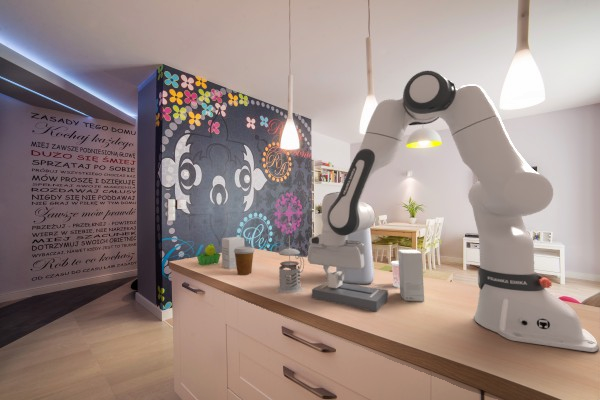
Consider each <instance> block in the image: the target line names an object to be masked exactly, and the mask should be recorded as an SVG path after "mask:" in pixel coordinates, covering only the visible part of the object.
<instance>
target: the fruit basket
mask: <svg viewBox="0 0 600 400" xmlns="http://www.w3.org/2000/svg"><path fill="white" fill-rule="evenodd" d="M204 251H205V253H202V254H196V257H197V258H196V259H197V262H198V264H199V265H200V266H208V265H214V263H216V264H219V262H220V257H221V256H222V253H219V252H216V248H215V244H214V243H209V244H208V245H207V246H206V247H205V249H204Z"/></svg>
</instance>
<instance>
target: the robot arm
mask: <svg viewBox="0 0 600 400" xmlns="http://www.w3.org/2000/svg"><path fill="white" fill-rule="evenodd" d="M402 93H403V94H402V98H400V99H394V98H392V99H389V98H388V99H386V100H385V99H384V100H382V101H380V102H379V103H378V104H377V105H376V107H375V109H374V110H373V113H372V114H371V116H370V120H369V121H368V125H367V128H366V130H365V132H364V133H365V134H364V137H363V139H362V142H361V144H360V146H359V150H358V151H357V153H356V155H355V156H354V158H353V160H352V162H351V164H350V166H349V168H348V171H347V173H346V176H345V178H344V181H343V183H342V186H341V189H340V191H335V192H329V193H327V194H325V195H324V196H323V199H322V203H321V220H322V221H321V222H322V228H321V234H318V235H316V236H312V237H309V239H308V243H309V246H308V249H307V261H308V263H309V264H310V265H311V264H312V265H319V266H323V270H324V272H325V274H326V275H325V276H326V279H327V280H328V274H329V273H331V270H330V268H332V267H333V268H336V267H340V268H341V271H342V273H341V274H340V275H338V280H340V281H343V280H344V275H345V273H346V271H347V268H348V269H355V270H360V269H362V268H363V267H364V255H363V253H364V246H363V244H362V243H360V242H359V241H352V240H348V238H347V235H349V234H351V233H353V232H358V231H362V230H366V229H368V228H370V229H371V227H372V226H373V225H374V223H375V221H376V213H375V210H374V208H373V206H372V205H370V204H369V203H367V202H364V201H361V199H362V197H363V194H364V192H365V189H366V187H367V184H368V181H369V179H370V178H371V176H372V175H374V174H375V173H376V172H377V171H378V170H380V169H382V168H384V167H387V166H388V165H390V164H391V163H392V162H393V161H394V159H395V158H396V156H397V155H398V152H399V149H400V146H401V145H402V141H403V139H404V135H405V133H406V132H405V131H406V130H407V127H408V126H416V125H417V126H419V125H427V124H432V123H434V122H436V121H437V120H438V119H439V118H440V119H442V120H443V121H444V122H445V123H446V125H447V127H448V128H449V131H450V133H451V136H452V139H453V141H454V143H455V146H456V148H457V151H458V153H459V155H460V158H461V160H462V162H463V164H465V166H467V167H468V168H469V169H470V170H471V172H472V173H473V174H474V176H475V177H476V179H477V180H476V182H475V183H474V184H473V185H472V186H471V187H470V189H469V190H468V194H467V195H468V197H467V198H468V200H469V203H470V205H471V207H472V212H473V216H474V221H475V224H476V228H477V229H476V230H477V234H478V235H477V236H478V242H479V243H478V244H479V245H478V246H479V266H478V269H477V285H478V288H479V293H478V294H479V295H478V300H477V301H478V302H477V305H476V306H477V307H476V311H475V314H474V316H473V319H474V321H475V322H476V323H478V324H479V325H480V326H482V327H484V328H485V329H487V330H490V331H493V332H495V333H497V334H498V335H500V336H502V337H503V338H505V339H507V340H510V341H515V342H522V343H527V344H536V345H541V346H542V345H543V346H547V347H549V346H550V347H553V348H554V347H555V348H562V349H569V350H576V351H580V352H581V351H583V352H590V353H594V352H597V351H598V349H599V345H598V342H597V340H596V338H595V337H594V335H592V334H591V332H589V331H588V330H586V329H585V328H583V327H582V323H581V321H580V318H579V316H578V314H577V312H576V311H575V310H574V309H573V308H572V307H571V306H570V305H569V304H567V303H566V302H565V301H563V300H561V299H560V298H559V297H557V296H556V295H554V294H553V293H551V291H549V290H547V289H550V288H551V287H552V286H553V283H552V281H551V280H550V279H549V278H547V277H545V276H543V275H542V274H540V273H538V272H536V271H535V254H534V253H535V249H534V248H535V247H534V240H533V238H532V237H531V235H530V234H529V233H528V230H527V229H526V225H525V223H524V220H523V217H526V216H531V215H533V214H536V213H539V212H541V211H543V210H545V209H546V208H547V207H549V205H550V204H551V202H552V200H553V196H554V188H553V186H552V183H551V182H550V180H549V179H548V178H547V177H545V176H544V175H543V174H541V173H539V172H537V171H536V170H534V169H533V167H531V166H530V165H529V164H528V162H527V161H526V160H525V159H524V158H523V156H522V155H521V154H520V153H519V152H518V150H517V149H516V148H515V146H514V144H513V142H512V141H511V139H510V137H509V134H508V132H507V131H506V129H505V128H506V127H505V126H504V123H503V122H502V119H501V117H500V115H499V112H498V110H497V108H496V107H495V105H494V103H493V101H492V99H490V97H489V96H488V94H487V93H486V91H485V90H484V89H483V88H482V86H480V85H477V84H467V85H462V86H461V87H458V88H457V86H456V84H455V83H454V82H453V81H452V80H449V79H448V78H446V77H445V76H443V75H441V74H440V73H438V72H437V71H433V70H422V71H420V72H417V73H416V74H414V75H413V76H411V78H410V79H409V80H408V81H407V83H406V85H405V86H404V89H403V92H402ZM359 243H360V244H359Z"/></svg>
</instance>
